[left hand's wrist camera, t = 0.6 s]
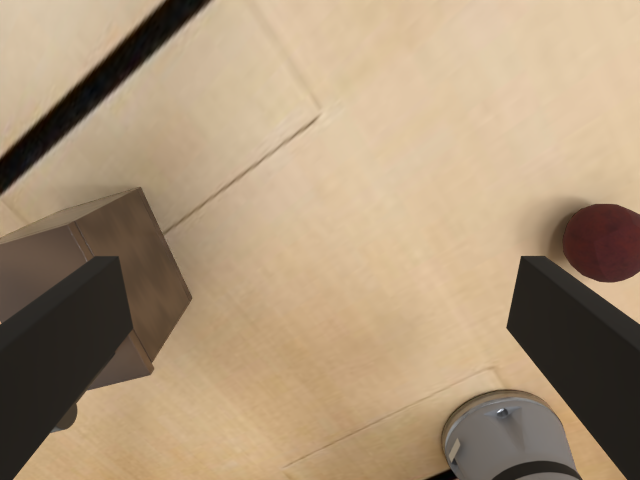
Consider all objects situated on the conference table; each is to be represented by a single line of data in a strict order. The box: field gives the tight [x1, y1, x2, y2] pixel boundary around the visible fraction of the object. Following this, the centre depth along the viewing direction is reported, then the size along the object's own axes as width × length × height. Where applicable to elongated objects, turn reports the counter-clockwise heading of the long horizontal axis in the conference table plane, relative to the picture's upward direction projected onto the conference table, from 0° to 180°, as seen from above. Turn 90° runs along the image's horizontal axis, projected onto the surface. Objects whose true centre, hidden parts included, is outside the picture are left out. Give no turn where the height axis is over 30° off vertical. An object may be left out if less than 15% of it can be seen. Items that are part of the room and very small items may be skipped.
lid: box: [0, 222, 154, 433], centre depth 27 cm, size 14×9×9 cm, turn 16°
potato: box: [563, 204, 640, 282], centre depth 37 cm, size 7×8×7 cm
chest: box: [0, 187, 192, 363], centre depth 37 cm, size 14×9×11 cm
